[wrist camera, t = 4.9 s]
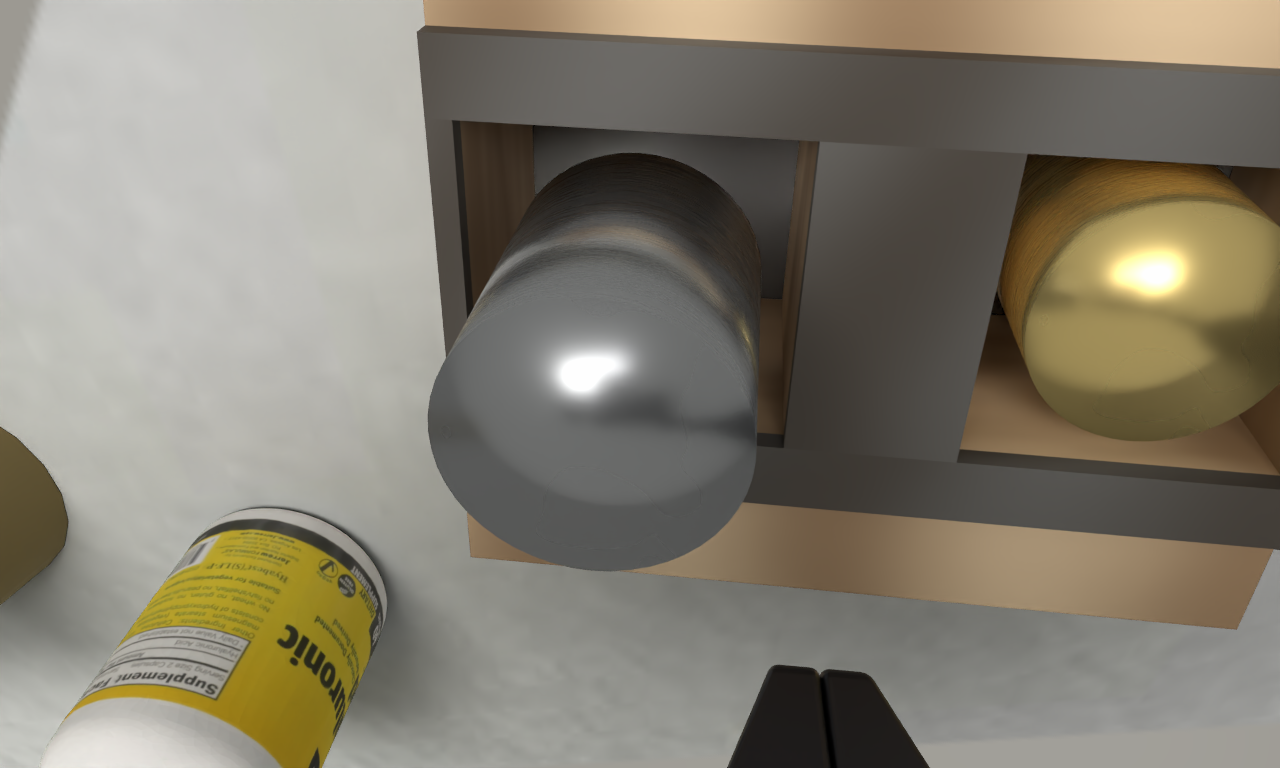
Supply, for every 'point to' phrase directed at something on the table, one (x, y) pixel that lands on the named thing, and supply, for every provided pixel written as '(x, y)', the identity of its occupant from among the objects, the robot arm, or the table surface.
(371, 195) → the table surface
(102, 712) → the supplement bottle
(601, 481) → the steel plunger
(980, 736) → the table surface
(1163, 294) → the brass plunger
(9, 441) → the olive brown pepper mill
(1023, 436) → the socket board
